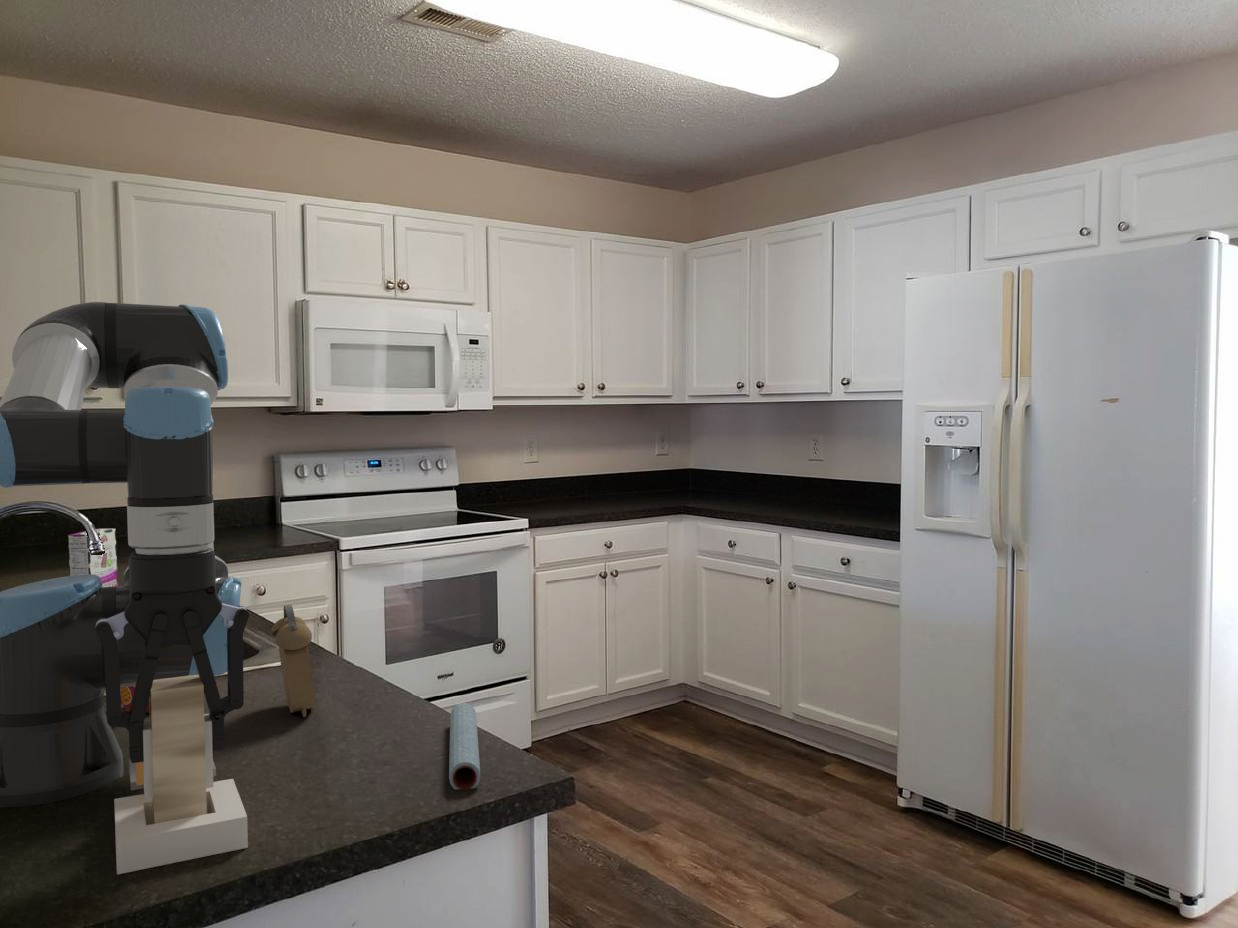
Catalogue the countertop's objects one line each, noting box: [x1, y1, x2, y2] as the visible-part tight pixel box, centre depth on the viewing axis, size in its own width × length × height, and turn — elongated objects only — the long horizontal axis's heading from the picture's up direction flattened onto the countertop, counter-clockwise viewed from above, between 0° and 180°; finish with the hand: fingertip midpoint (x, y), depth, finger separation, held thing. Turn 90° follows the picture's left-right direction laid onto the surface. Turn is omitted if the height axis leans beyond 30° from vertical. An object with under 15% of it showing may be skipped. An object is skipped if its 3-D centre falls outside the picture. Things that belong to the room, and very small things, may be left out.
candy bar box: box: [67, 528, 119, 587], centre depth 213 cm, size 11×5×16 cm, turn 179°
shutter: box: [128, 757, 217, 791], centre depth 101 cm, size 8×9×5 cm
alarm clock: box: [271, 604, 316, 718], centre depth 133 cm, size 11×5×15 cm, turn 25°
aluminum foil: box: [448, 702, 481, 791], centre depth 116 cm, size 23×7×3 cm, turn 10°
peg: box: [149, 675, 207, 824], centre depth 92 cm, size 4×4×13 cm
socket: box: [114, 778, 249, 875], centre depth 92 cm, size 11×11×3 cm
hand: (178, 787), depth 92 cm, fingers closed on peg, 4 cm apart
